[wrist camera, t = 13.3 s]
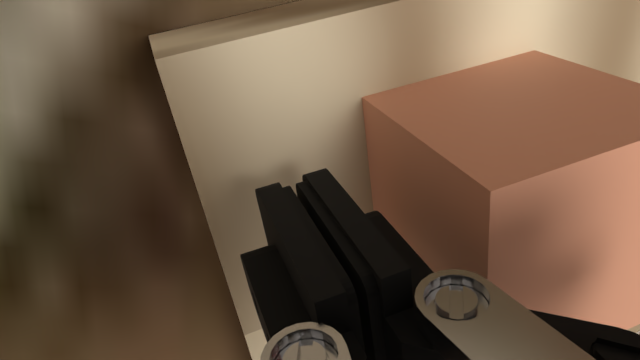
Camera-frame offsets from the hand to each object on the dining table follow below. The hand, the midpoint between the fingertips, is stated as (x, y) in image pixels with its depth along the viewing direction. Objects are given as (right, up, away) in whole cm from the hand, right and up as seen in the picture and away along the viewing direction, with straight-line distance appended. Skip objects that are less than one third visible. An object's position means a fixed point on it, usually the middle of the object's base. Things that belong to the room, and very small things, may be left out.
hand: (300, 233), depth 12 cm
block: (+4, +2, +2) cm, 5 cm away
